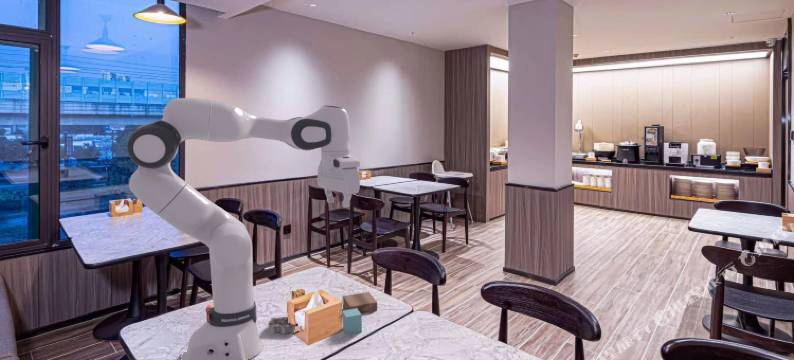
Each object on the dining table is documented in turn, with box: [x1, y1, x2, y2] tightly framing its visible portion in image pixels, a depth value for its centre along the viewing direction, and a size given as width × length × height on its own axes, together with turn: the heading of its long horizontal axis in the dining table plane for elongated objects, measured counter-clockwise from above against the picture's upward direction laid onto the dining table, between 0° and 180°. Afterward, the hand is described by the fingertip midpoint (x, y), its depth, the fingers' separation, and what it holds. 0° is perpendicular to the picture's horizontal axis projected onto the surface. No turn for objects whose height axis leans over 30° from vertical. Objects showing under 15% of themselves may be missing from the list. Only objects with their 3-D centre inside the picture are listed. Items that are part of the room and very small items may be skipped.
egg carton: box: [267, 316, 296, 335], centre depth 143 cm, size 11×8×4 cm
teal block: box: [341, 308, 363, 336], centre depth 141 cm, size 5×5×6 cm
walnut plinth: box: [342, 291, 378, 314], centre depth 159 cm, size 10×10×3 cm
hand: (338, 204), depth 135 cm, fingers open, 8 cm apart
